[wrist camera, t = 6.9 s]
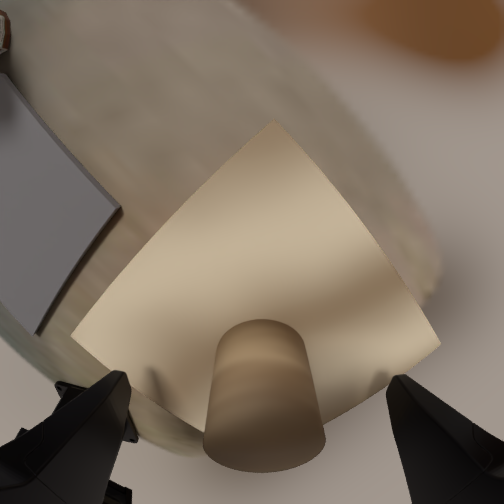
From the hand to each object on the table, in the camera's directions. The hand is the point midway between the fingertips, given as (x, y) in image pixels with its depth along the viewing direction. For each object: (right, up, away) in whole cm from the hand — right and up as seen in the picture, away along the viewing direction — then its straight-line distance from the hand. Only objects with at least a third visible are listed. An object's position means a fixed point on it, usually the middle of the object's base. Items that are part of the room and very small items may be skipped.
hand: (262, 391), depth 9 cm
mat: (-16, +7, +5) cm, 18 cm away
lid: (0, +1, +3) cm, 3 cm away
